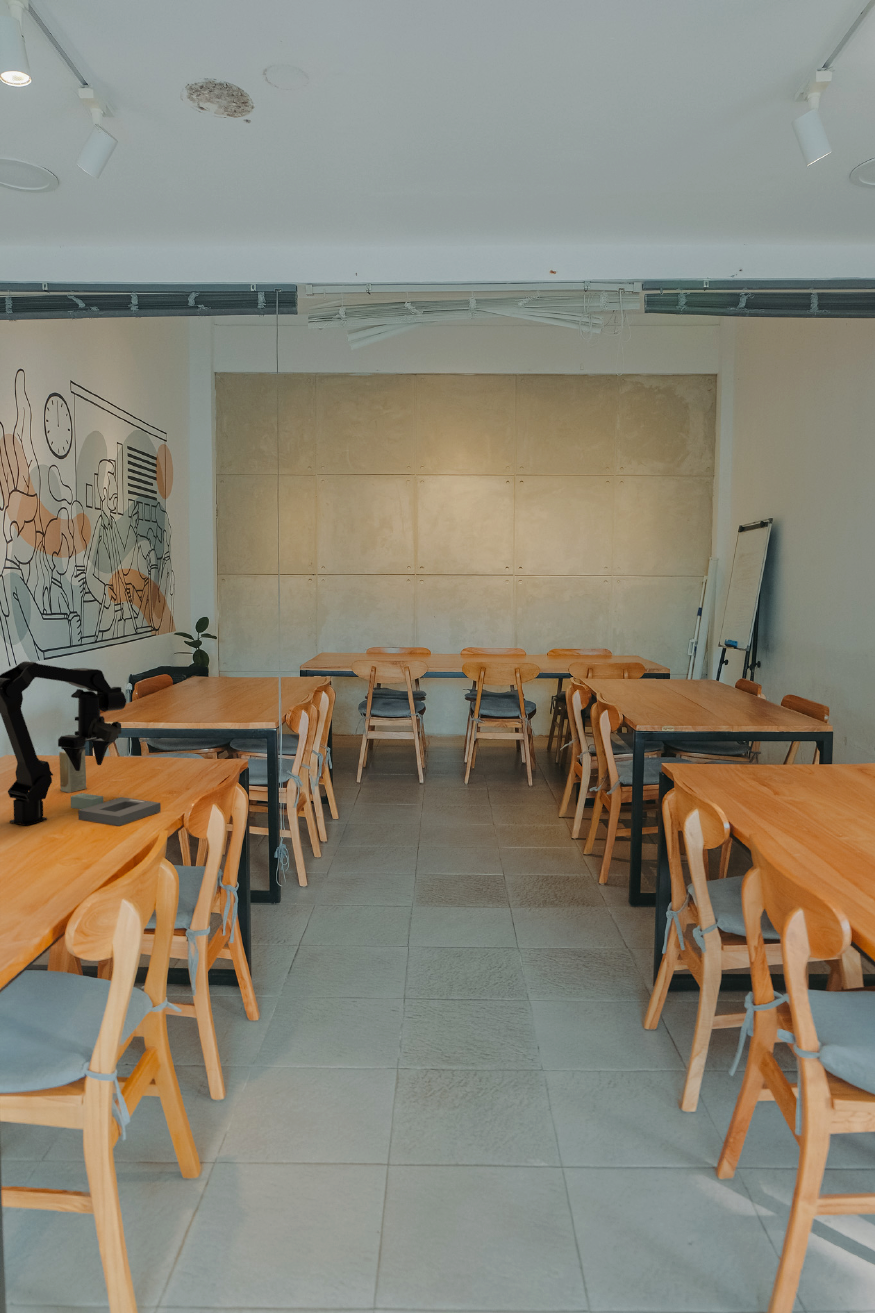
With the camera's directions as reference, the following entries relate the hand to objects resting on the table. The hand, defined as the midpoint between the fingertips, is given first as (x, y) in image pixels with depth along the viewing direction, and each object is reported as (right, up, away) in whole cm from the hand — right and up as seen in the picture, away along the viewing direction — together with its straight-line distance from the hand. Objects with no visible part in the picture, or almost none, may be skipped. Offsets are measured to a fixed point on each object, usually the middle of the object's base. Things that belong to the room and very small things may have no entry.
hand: (88, 768), depth 228 cm
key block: (0, -11, -1) cm, 11 cm away
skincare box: (-13, -10, +19) cm, 25 cm away
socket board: (+12, -12, -8) cm, 19 cm away
